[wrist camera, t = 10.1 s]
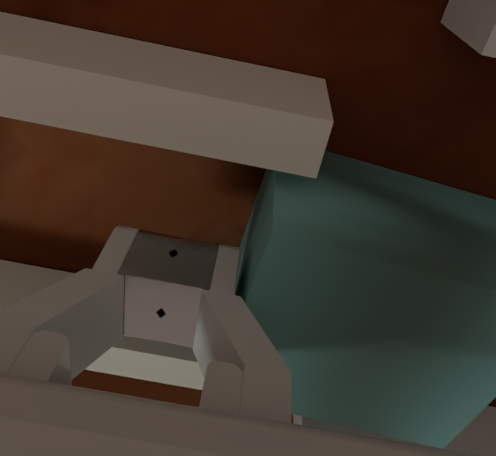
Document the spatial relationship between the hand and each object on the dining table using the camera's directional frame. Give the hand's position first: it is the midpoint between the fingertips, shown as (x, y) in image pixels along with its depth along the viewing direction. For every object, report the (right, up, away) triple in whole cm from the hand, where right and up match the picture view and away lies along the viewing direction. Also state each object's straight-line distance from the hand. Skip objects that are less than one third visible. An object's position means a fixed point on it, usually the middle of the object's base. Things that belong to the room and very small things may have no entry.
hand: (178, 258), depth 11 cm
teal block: (+5, 0, +2) cm, 5 cm away
